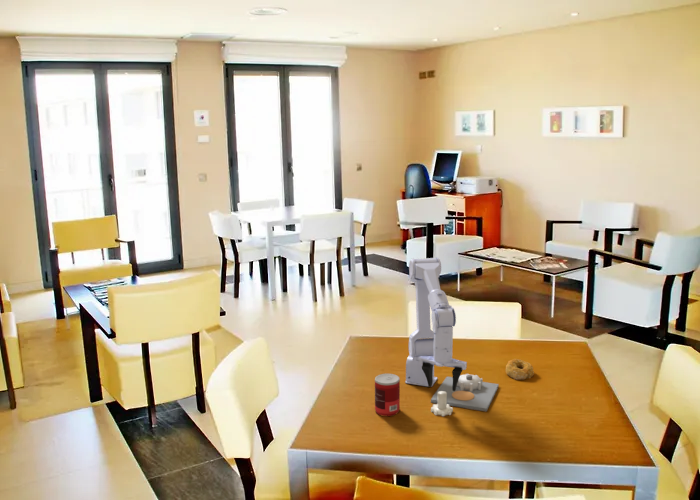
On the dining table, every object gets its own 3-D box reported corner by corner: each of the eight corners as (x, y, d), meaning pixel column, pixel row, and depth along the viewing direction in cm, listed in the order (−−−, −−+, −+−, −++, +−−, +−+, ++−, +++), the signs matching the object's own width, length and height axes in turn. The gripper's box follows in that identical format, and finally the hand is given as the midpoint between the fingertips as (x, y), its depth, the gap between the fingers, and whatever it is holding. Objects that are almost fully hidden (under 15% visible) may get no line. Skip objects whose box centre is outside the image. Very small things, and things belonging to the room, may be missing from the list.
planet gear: (428, 414, 201) (429, 395, 199) (434, 405, 206) (434, 387, 205) (449, 417, 198) (449, 398, 197) (454, 408, 204) (454, 390, 203)
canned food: (402, 407, 206) (402, 374, 203) (395, 418, 198) (395, 384, 196) (379, 404, 208) (379, 372, 206) (371, 414, 201) (371, 381, 198)
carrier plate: (430, 402, 209) (431, 389, 208) (446, 379, 227) (447, 367, 226) (486, 411, 202) (487, 398, 201) (498, 386, 220) (498, 374, 219)
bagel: (503, 378, 227) (503, 366, 226) (507, 367, 237) (508, 355, 236) (532, 383, 223) (533, 370, 222) (535, 371, 233) (536, 359, 232)
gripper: (416, 347, 197) (416, 389, 200) (463, 353, 191) (462, 396, 194) (423, 340, 203) (422, 380, 206) (468, 346, 198) (467, 387, 200)
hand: (442, 387), depth 201 cm, fingers open, 7 cm apart
